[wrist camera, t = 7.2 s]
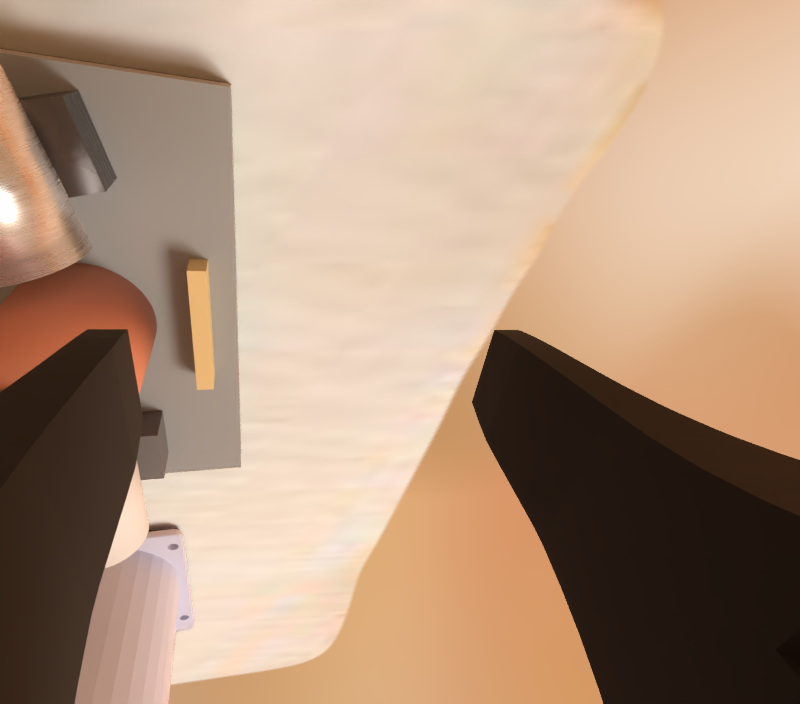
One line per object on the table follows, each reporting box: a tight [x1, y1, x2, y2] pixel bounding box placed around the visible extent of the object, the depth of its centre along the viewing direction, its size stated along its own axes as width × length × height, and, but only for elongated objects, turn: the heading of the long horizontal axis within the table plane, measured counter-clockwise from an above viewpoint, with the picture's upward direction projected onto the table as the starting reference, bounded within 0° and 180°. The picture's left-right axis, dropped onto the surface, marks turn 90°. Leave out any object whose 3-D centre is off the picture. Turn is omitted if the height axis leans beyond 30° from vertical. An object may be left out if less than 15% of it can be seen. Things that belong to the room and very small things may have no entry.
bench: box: [0, 49, 241, 568], centre depth 15 cm, size 16×12×6 cm
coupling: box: [0, 263, 157, 394], centre depth 14 cm, size 4×4×6 cm
